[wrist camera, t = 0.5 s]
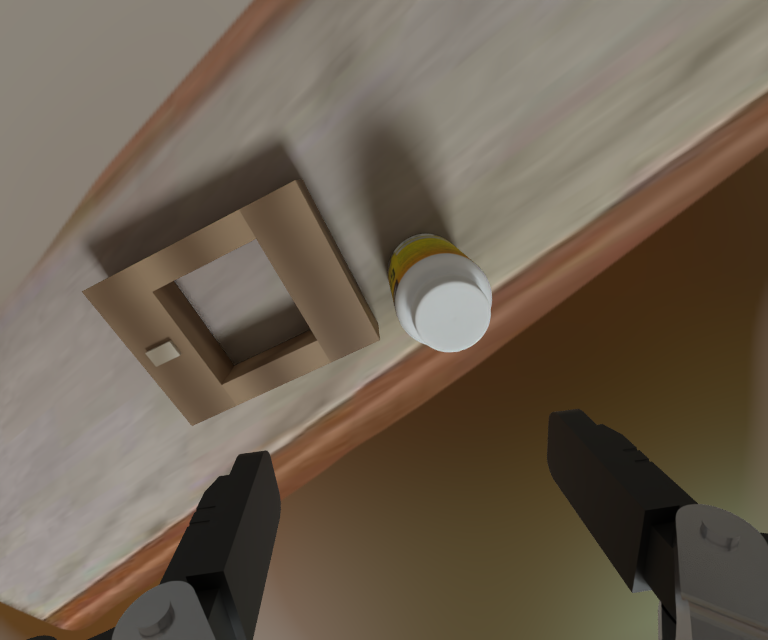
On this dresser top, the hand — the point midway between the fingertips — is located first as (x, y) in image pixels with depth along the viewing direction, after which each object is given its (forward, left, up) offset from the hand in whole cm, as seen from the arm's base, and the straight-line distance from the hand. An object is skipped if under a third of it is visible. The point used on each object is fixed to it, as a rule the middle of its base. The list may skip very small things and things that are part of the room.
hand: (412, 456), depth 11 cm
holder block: (+10, -3, -20) cm, 22 cm away
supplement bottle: (-3, +1, -20) cm, 20 cm away
